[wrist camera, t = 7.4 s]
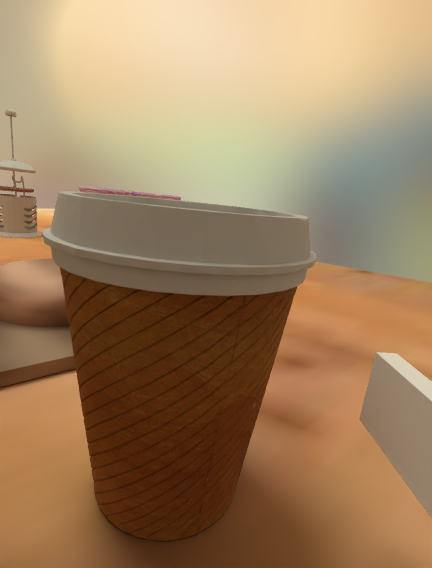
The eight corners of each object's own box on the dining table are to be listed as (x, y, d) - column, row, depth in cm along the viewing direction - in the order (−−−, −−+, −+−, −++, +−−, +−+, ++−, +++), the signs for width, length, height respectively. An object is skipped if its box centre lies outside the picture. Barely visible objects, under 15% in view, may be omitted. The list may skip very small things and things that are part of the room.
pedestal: (-95, 410, 17) (-106, 340, 16) (-89, 293, 33) (-94, 253, 32) (221, 331, 31) (225, 291, 30) (119, 276, 47) (120, 248, 46)
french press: (-16, 236, 66) (-26, 98, 60) (-3, 228, 77) (-11, 110, 70) (40, 238, 70) (35, 109, 64) (45, 231, 80) (41, 119, 74)
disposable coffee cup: (172, 680, 9) (220, 218, 6) (6, 479, 14) (-16, 183, 11) (305, 466, 16) (356, 220, 13) (165, 388, 21) (179, 199, 18)
